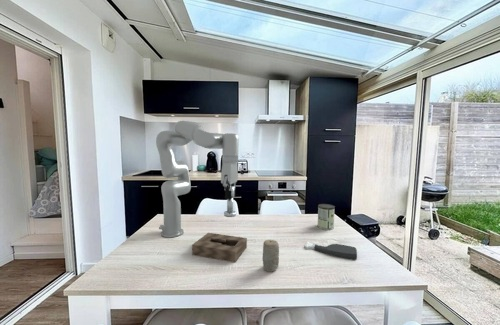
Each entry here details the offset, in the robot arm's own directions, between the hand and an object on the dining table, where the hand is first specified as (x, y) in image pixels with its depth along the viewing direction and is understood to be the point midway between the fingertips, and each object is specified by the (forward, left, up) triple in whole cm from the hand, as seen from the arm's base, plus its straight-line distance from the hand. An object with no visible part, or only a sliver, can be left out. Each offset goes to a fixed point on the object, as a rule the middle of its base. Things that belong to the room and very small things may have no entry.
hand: (230, 197), depth 110 cm
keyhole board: (-5, 0, -27) cm, 28 cm away
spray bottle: (+47, +19, -28) cm, 58 cm away
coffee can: (+45, +54, -28) cm, 76 cm away
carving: (+22, -8, -28) cm, 36 cm away
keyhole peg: (0, 0, -9) cm, 9 cm away
